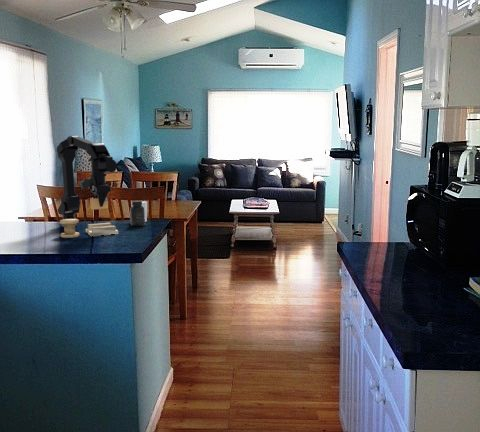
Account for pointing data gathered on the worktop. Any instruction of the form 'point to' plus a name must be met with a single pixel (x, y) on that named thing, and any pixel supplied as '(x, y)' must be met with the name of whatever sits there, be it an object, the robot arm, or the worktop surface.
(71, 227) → the bobbin
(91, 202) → the tan rectangular block
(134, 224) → the supplement bottle
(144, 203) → the white cup
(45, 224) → the worktop surface
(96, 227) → the notched board
